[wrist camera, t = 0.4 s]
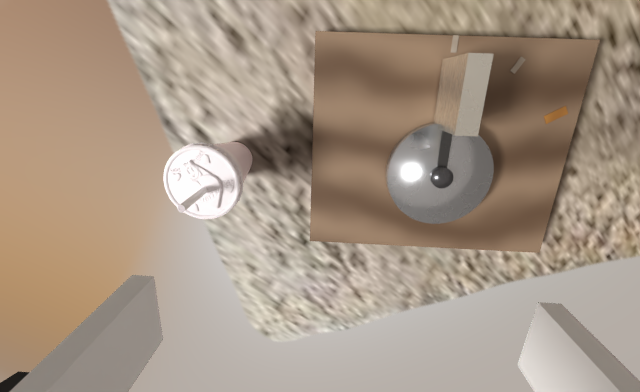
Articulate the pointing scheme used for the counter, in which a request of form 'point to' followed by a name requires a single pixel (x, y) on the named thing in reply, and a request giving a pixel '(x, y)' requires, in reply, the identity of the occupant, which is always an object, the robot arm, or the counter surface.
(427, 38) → the panel
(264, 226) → the counter surface
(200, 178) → the smoothie
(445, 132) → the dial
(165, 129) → the counter surface
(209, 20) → the counter surface
